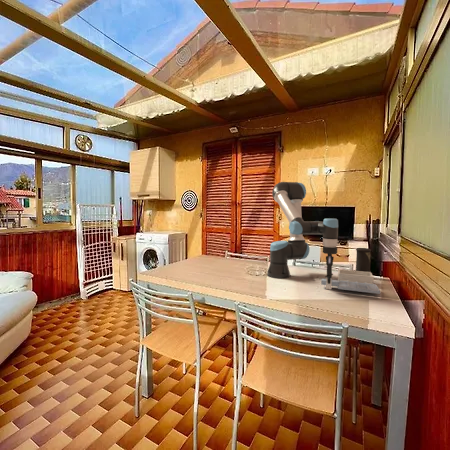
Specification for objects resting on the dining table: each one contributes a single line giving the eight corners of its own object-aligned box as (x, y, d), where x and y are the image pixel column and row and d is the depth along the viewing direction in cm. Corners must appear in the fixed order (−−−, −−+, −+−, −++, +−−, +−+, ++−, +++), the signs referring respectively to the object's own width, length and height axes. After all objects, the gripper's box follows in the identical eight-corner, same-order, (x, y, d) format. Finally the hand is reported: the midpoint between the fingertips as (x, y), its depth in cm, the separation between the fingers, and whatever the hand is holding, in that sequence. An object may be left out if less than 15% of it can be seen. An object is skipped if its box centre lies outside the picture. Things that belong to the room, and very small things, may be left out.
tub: (338, 285, 148) (338, 273, 147) (337, 280, 159) (338, 269, 158) (373, 289, 140) (373, 276, 140) (370, 283, 151) (370, 272, 151)
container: (372, 279, 159) (373, 249, 158) (357, 279, 161) (358, 248, 160) (367, 276, 168) (368, 247, 167) (353, 275, 170) (354, 246, 168)
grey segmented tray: (320, 286, 134) (320, 282, 134) (321, 280, 146) (322, 276, 146) (380, 293, 123) (380, 289, 123) (376, 286, 135) (376, 282, 135)
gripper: (337, 248, 128) (336, 293, 129) (337, 244, 144) (336, 284, 145) (322, 247, 131) (320, 291, 132) (323, 244, 147) (322, 282, 148)
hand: (328, 287), depth 139 cm, fingers closed on grey segmented tray, 4 cm apart
